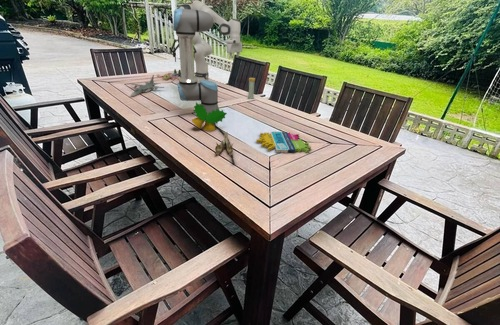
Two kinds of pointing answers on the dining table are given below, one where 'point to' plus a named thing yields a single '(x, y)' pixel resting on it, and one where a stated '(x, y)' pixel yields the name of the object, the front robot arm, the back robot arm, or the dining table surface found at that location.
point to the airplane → (145, 87)
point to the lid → (252, 79)
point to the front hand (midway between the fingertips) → (184, 61)
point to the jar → (251, 90)
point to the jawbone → (224, 145)
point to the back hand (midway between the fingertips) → (234, 57)
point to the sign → (283, 142)
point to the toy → (171, 75)
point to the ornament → (207, 117)
